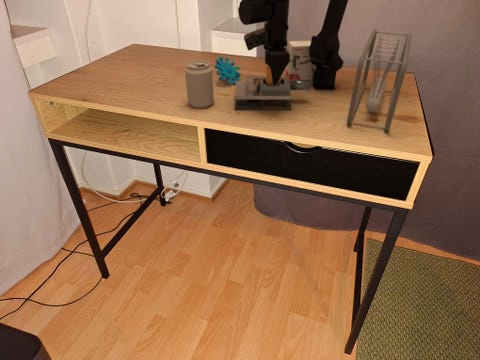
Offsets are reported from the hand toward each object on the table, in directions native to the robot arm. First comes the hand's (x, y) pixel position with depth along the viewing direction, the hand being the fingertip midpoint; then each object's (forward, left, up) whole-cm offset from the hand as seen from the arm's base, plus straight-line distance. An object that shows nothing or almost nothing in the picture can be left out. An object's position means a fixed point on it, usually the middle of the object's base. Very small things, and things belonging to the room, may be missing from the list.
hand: (273, 78), depth 101 cm
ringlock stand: (0, 0, -7) cm, 7 cm away
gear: (+14, -15, -7) cm, 22 cm away
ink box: (-10, -17, -7) cm, 21 cm away
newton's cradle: (-28, +4, -7) cm, 30 cm away
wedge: (0, 0, -6) cm, 6 cm away
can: (+21, +2, -7) cm, 22 cm away
